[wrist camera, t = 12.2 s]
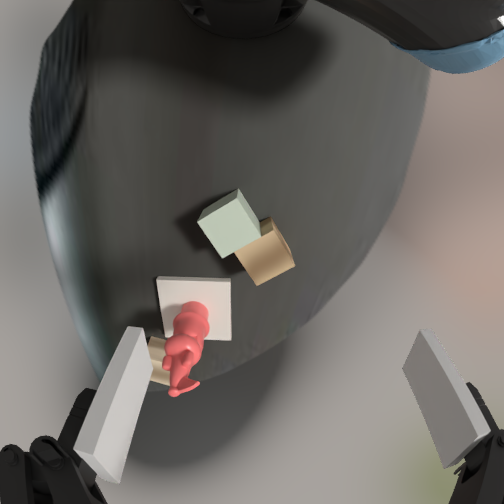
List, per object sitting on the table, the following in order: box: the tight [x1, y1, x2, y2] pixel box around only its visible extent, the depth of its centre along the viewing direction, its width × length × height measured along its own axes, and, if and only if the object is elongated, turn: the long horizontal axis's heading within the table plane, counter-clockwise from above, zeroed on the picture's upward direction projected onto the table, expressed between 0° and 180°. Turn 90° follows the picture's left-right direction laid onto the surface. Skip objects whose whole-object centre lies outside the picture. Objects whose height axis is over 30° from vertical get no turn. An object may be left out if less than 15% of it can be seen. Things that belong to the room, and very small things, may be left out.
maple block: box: [147, 336, 170, 386], centre depth 43 cm, size 5×5×5 cm
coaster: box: [156, 276, 231, 340], centre depth 42 cm, size 10×10×1 cm
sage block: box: [197, 189, 261, 258], centre depth 35 cm, size 5×5×5 cm
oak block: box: [234, 217, 295, 286], centre depth 36 cm, size 5×5×5 cm
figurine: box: [162, 301, 210, 397], centre depth 34 cm, size 5×5×15 cm
